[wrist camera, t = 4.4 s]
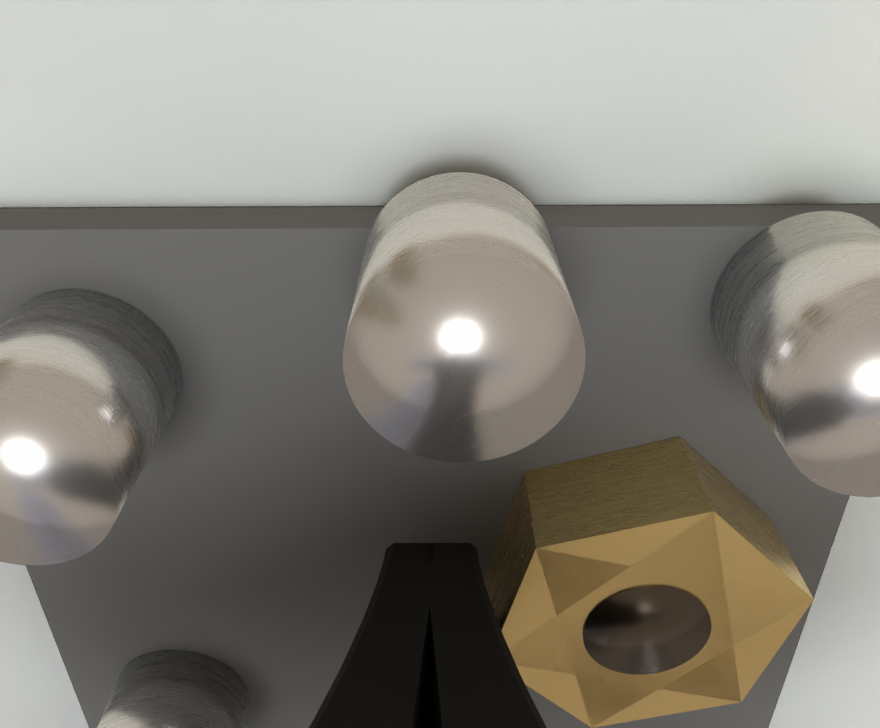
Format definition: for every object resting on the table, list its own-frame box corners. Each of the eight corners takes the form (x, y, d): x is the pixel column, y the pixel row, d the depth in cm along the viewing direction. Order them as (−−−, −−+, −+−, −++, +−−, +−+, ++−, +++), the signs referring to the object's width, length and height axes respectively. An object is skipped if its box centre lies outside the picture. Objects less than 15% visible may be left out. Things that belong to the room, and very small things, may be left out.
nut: (779, 605, 13) (820, 690, 11) (512, 655, 14) (520, 742, 12) (761, 418, 11) (808, 494, 9) (449, 487, 12) (451, 568, 10)
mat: (709, 825, 18) (721, 861, 17) (153, 826, 18) (142, 863, 17) (909, 204, 10) (944, 225, 9) (-69, 208, 10) (-105, 230, 9)
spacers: (710, 854, 17) (748, 991, 15) (175, 856, 17) (136, 992, 15) (938, 169, 9) (1093, 250, 7) (-61, 174, 9) (-215, 256, 7)
